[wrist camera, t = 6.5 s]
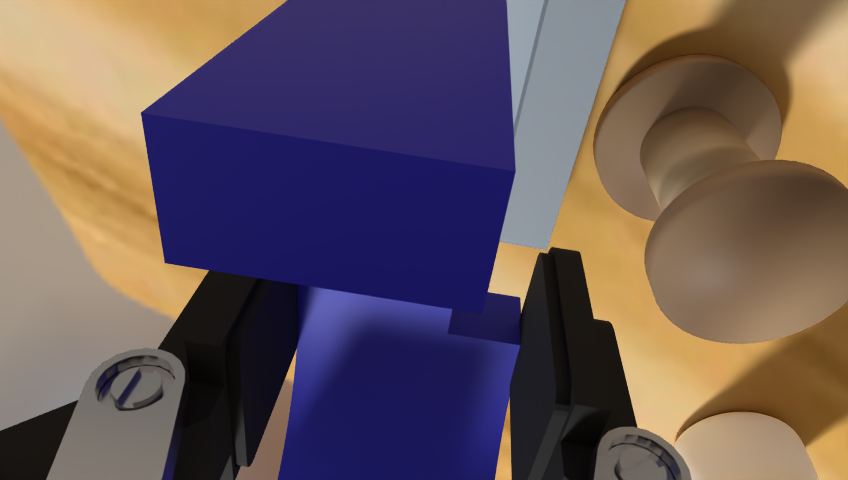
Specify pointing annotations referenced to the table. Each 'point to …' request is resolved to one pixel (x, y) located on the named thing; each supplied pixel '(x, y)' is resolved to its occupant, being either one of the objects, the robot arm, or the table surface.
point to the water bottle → (744, 449)
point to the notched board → (551, 102)
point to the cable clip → (360, 220)
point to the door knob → (723, 202)
